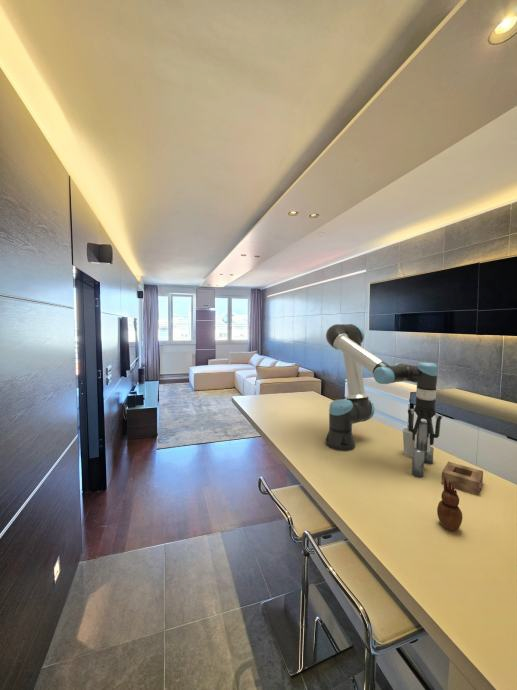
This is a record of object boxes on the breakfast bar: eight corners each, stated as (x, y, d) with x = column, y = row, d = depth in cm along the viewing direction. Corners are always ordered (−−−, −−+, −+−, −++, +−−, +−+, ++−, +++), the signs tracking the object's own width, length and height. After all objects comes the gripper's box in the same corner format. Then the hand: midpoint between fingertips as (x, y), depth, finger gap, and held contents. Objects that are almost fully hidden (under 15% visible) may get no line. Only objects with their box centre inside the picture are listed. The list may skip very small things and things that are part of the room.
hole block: (441, 483, 118) (441, 471, 118) (447, 472, 127) (448, 461, 127) (478, 495, 110) (479, 482, 110) (482, 483, 119) (483, 471, 119)
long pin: (414, 457, 131) (417, 422, 130) (417, 454, 134) (419, 420, 133) (425, 460, 128) (428, 425, 127) (428, 457, 131) (430, 422, 130)
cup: (422, 458, 140) (423, 434, 139) (404, 457, 142) (405, 433, 141) (417, 451, 148) (417, 428, 147) (399, 450, 150) (400, 427, 149)
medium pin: (410, 475, 125) (411, 450, 124) (413, 471, 128) (414, 446, 128) (421, 478, 122) (422, 453, 121) (424, 474, 125) (425, 449, 125)
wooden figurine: (433, 519, 97) (435, 475, 96) (449, 518, 97) (451, 474, 96) (447, 534, 90) (450, 487, 89) (465, 533, 90) (468, 486, 89)
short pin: (420, 462, 137) (421, 447, 136) (423, 459, 140) (424, 444, 139) (431, 465, 134) (432, 450, 133) (434, 462, 137) (434, 447, 136)
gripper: (401, 395, 132) (398, 446, 134) (447, 404, 120) (442, 458, 122) (407, 392, 137) (404, 441, 140) (450, 400, 126) (446, 453, 128)
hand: (422, 449), depth 131 cm, fingers closed on long pin, 4 cm apart
